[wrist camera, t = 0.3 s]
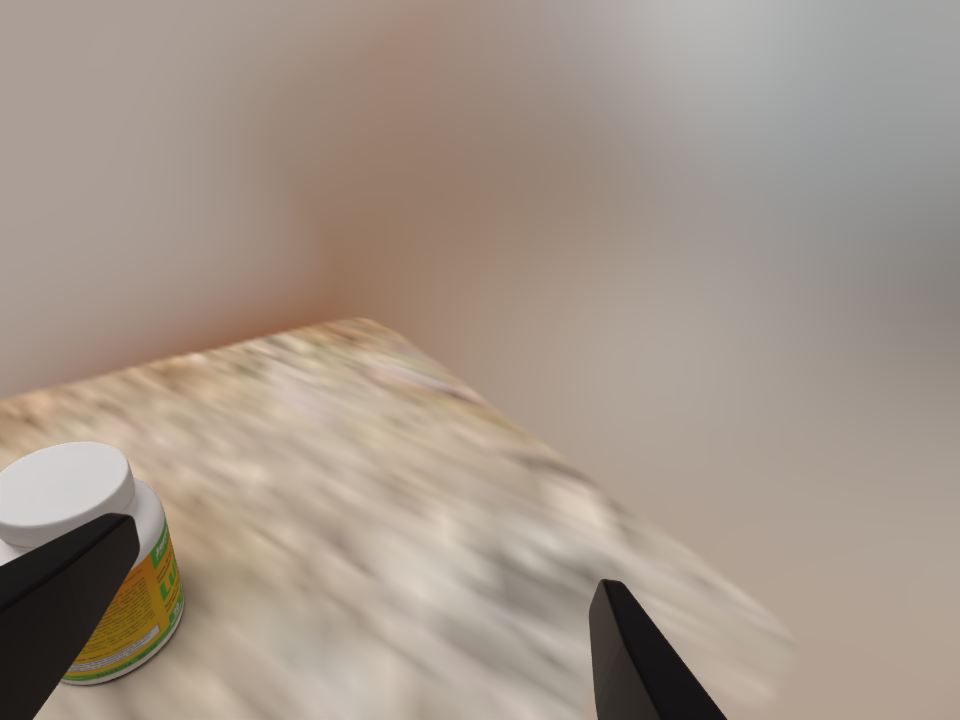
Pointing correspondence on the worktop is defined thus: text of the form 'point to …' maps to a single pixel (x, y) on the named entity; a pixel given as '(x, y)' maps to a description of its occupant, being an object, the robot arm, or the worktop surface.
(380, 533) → the worktop surface
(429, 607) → the worktop surface
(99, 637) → the supplement bottle
